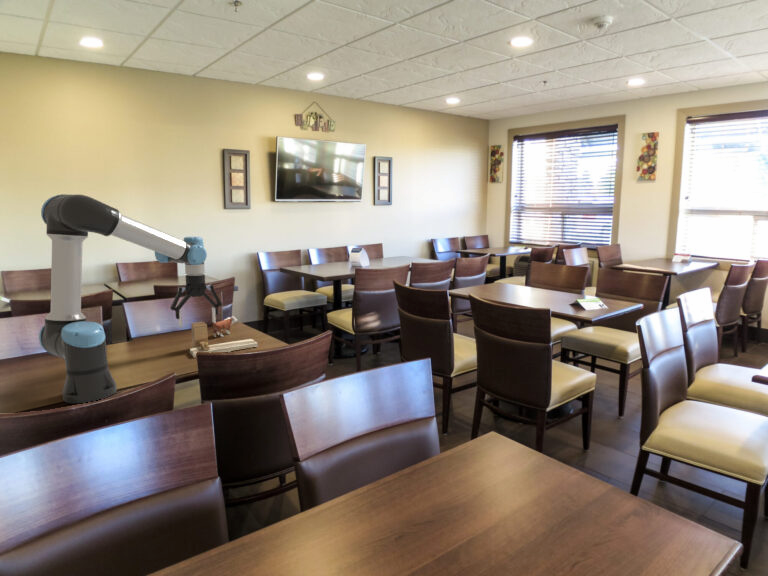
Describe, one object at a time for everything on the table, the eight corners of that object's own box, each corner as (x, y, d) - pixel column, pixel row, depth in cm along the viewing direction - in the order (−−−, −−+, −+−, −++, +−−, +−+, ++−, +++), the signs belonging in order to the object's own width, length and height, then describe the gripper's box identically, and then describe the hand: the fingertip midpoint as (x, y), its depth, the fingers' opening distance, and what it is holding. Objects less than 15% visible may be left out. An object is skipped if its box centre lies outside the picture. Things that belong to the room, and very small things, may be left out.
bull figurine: (239, 332, 237) (238, 315, 235) (216, 339, 225) (215, 321, 224) (233, 330, 239) (232, 314, 237) (210, 337, 228) (209, 320, 226)
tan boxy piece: (213, 354, 203) (211, 328, 201) (201, 356, 200) (199, 330, 198) (205, 346, 214) (203, 321, 212) (193, 348, 212) (191, 323, 210)
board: (257, 347, 212) (257, 342, 212) (194, 358, 198) (194, 353, 198) (251, 342, 219) (251, 338, 218) (190, 353, 205) (189, 348, 204)
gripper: (223, 271, 214) (225, 319, 218) (160, 275, 201) (164, 326, 204) (228, 273, 208) (230, 322, 212) (164, 277, 195) (167, 329, 198)
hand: (197, 324), depth 208 cm, fingers open, 13 cm apart
